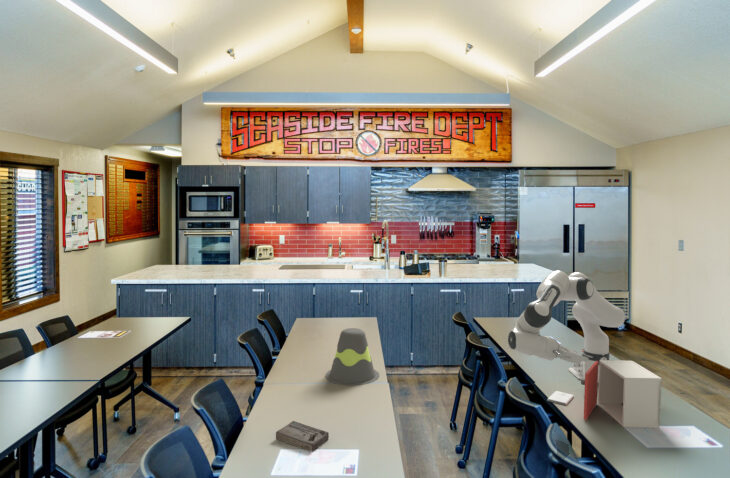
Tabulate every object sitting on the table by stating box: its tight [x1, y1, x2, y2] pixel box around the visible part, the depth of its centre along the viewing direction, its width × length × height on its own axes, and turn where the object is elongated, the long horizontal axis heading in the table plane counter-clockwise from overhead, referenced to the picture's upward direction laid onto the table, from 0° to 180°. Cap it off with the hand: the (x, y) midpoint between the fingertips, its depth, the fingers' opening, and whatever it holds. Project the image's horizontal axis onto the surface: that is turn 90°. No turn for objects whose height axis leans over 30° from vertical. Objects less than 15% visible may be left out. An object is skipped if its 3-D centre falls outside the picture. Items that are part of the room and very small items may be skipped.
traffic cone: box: [325, 327, 380, 386], centre depth 243 cm, size 28×28×24 cm
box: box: [275, 420, 330, 452], centre depth 175 cm, size 11×17×3 cm, turn 60°
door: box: [580, 361, 599, 421], centre depth 201 cm, size 21×3×19 cm, turn 143°
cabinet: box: [597, 359, 662, 429], centre depth 197 cm, size 22×14×20 cm, turn 178°
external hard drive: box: [546, 390, 575, 406], centre depth 215 cm, size 2×8×12 cm
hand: (581, 356), depth 190 cm, fingers open, 8 cm apart
